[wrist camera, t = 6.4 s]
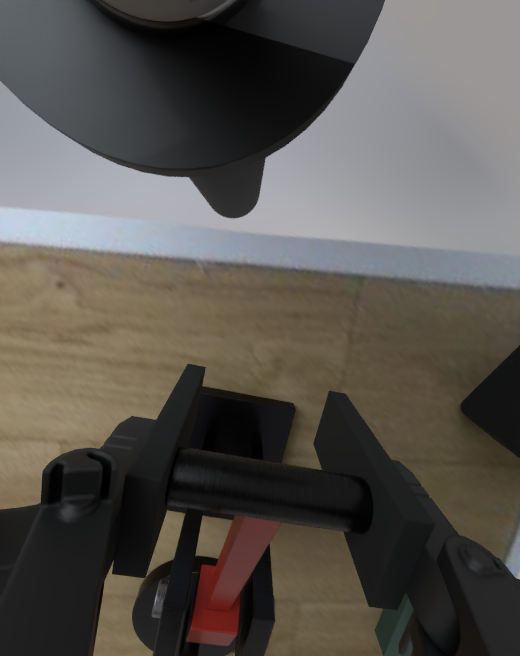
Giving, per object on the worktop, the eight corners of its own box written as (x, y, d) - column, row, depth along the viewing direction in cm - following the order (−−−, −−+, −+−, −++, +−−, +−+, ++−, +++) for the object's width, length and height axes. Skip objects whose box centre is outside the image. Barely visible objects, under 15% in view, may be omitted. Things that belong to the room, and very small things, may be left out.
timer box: (410, 544, 30) (434, 587, 26) (499, 558, 31) (535, 601, 27) (374, 630, 33) (391, 680, 29) (457, 640, 33) (485, 690, 30)
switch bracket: (191, 383, 25) (124, 530, 12) (293, 402, 26) (342, 560, 12) (170, 500, 28) (96, 728, 14) (263, 514, 28) (276, 743, 15)
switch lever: (184, 421, 9) (157, 509, 7) (361, 452, 9) (385, 543, 7) (167, 577, 17) (152, 638, 15) (262, 589, 17) (260, 650, 15)
